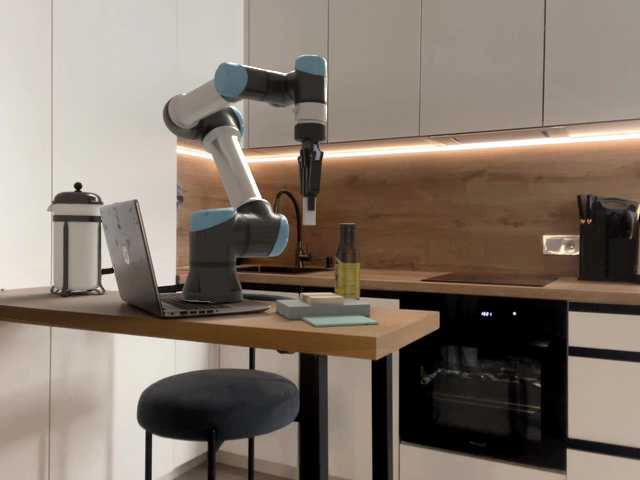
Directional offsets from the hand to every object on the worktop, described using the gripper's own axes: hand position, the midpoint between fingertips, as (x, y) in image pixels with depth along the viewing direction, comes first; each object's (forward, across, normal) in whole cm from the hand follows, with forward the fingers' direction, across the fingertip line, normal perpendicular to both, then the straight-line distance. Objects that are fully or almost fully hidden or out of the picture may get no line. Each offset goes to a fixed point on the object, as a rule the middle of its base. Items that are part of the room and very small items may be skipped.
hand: (309, 224), depth 137 cm
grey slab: (+19, +10, 0) cm, 22 cm away
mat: (+19, +21, 0) cm, 28 cm away
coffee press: (+20, -39, -52) cm, 68 cm away
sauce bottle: (+20, -3, +11) cm, 23 cm away
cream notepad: (+17, +10, 0) cm, 20 cm away
